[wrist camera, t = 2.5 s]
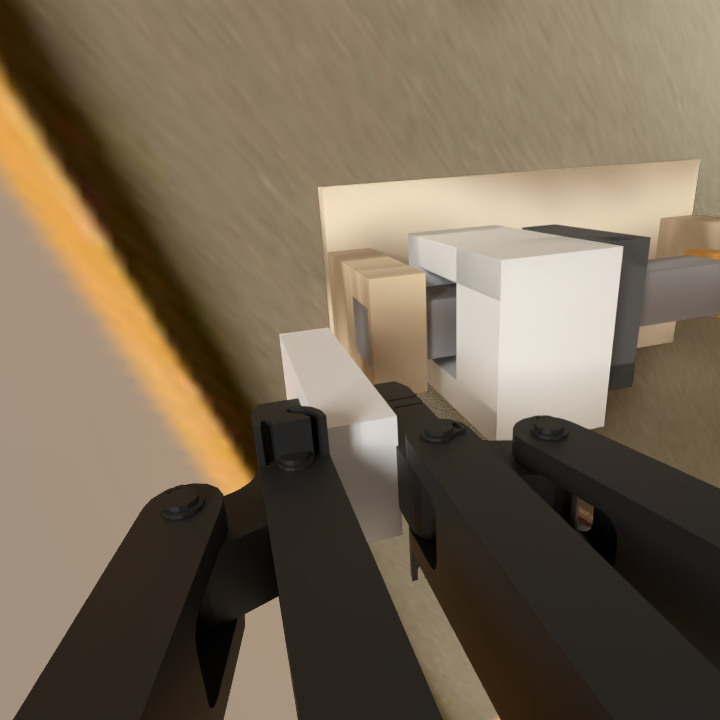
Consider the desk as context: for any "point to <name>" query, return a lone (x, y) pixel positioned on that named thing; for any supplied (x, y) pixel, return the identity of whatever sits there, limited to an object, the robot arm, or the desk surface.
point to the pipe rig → (510, 209)
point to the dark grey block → (619, 294)
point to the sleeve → (523, 324)
